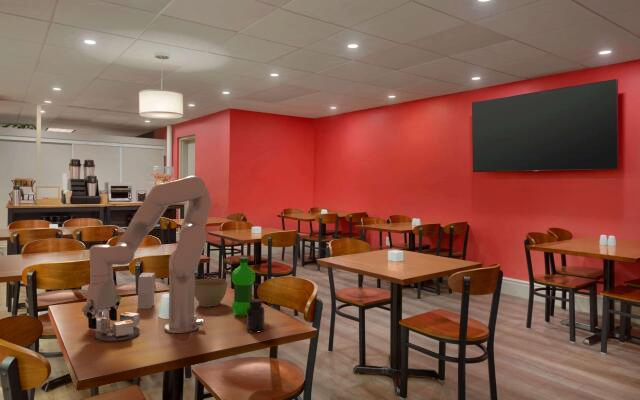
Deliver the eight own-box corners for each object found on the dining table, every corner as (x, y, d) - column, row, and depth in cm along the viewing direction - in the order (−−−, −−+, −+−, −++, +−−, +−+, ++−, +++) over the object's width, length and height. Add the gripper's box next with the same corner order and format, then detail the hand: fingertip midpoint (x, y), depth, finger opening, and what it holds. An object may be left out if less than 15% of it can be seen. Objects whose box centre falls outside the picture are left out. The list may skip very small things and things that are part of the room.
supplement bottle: (257, 326, 184) (257, 297, 183) (267, 330, 179) (268, 300, 178) (243, 330, 179) (243, 299, 178) (253, 334, 174) (254, 303, 174)
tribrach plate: (146, 329, 177) (146, 324, 177) (127, 343, 162) (127, 337, 162) (109, 327, 178) (109, 322, 178) (86, 341, 163) (86, 335, 163)
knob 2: (112, 335, 165) (113, 321, 164) (130, 332, 168) (130, 318, 168) (116, 338, 162) (116, 324, 162) (133, 335, 166) (133, 321, 165)
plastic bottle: (250, 318, 194) (251, 260, 193) (227, 316, 196) (228, 259, 195) (257, 312, 204) (259, 256, 203) (235, 310, 205) (236, 255, 204)
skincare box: (141, 304, 212) (141, 272, 211) (155, 304, 213) (155, 272, 212) (137, 309, 203) (137, 276, 203) (151, 309, 204) (151, 276, 204)
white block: (100, 328, 172) (100, 315, 171) (110, 332, 169) (110, 318, 168) (91, 331, 169) (91, 317, 168) (101, 334, 165) (101, 320, 165)
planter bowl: (232, 301, 220) (233, 279, 220) (217, 310, 204) (218, 286, 204) (202, 299, 224) (202, 277, 223) (185, 307, 208) (185, 284, 208)
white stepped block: (132, 328, 173) (132, 315, 172) (119, 326, 175) (120, 313, 174) (139, 326, 176) (139, 313, 176) (126, 324, 178) (126, 311, 178)
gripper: (111, 273, 177) (112, 316, 178) (74, 283, 161) (75, 330, 162) (127, 274, 175) (128, 318, 176) (90, 284, 158) (92, 333, 159)
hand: (103, 324), depth 169 cm, fingers open, 9 cm apart
